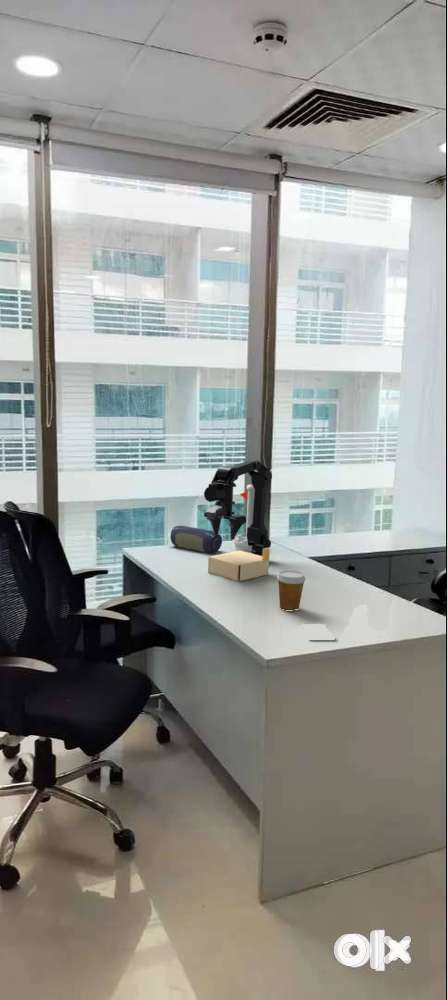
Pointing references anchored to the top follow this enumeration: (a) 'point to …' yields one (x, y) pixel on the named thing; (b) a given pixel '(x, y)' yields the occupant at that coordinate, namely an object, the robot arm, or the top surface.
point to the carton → (231, 564)
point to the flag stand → (241, 541)
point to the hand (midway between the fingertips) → (224, 537)
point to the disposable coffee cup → (290, 589)
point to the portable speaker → (196, 539)
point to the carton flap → (255, 567)
